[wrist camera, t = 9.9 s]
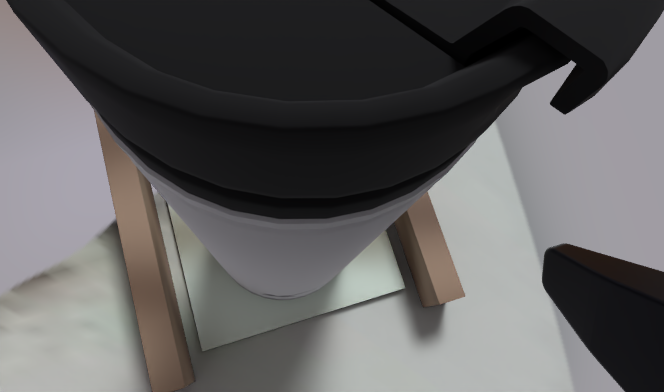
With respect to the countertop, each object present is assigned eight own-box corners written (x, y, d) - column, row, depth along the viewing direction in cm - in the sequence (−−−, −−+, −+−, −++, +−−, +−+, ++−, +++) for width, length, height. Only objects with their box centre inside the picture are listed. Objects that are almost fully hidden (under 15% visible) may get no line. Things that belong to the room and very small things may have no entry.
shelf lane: (446, 299, 23) (501, 289, 18) (167, 389, 21) (126, 412, 15) (321, -54, 28) (333, -153, 22) (81, -12, 26) (25, -111, 20)
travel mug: (300, 333, 22) (462, 361, 3) (187, 243, 22) (-333, -260, 3) (380, 227, 24) (823, -213, 4) (274, 145, 24) (263, -565, 5)
